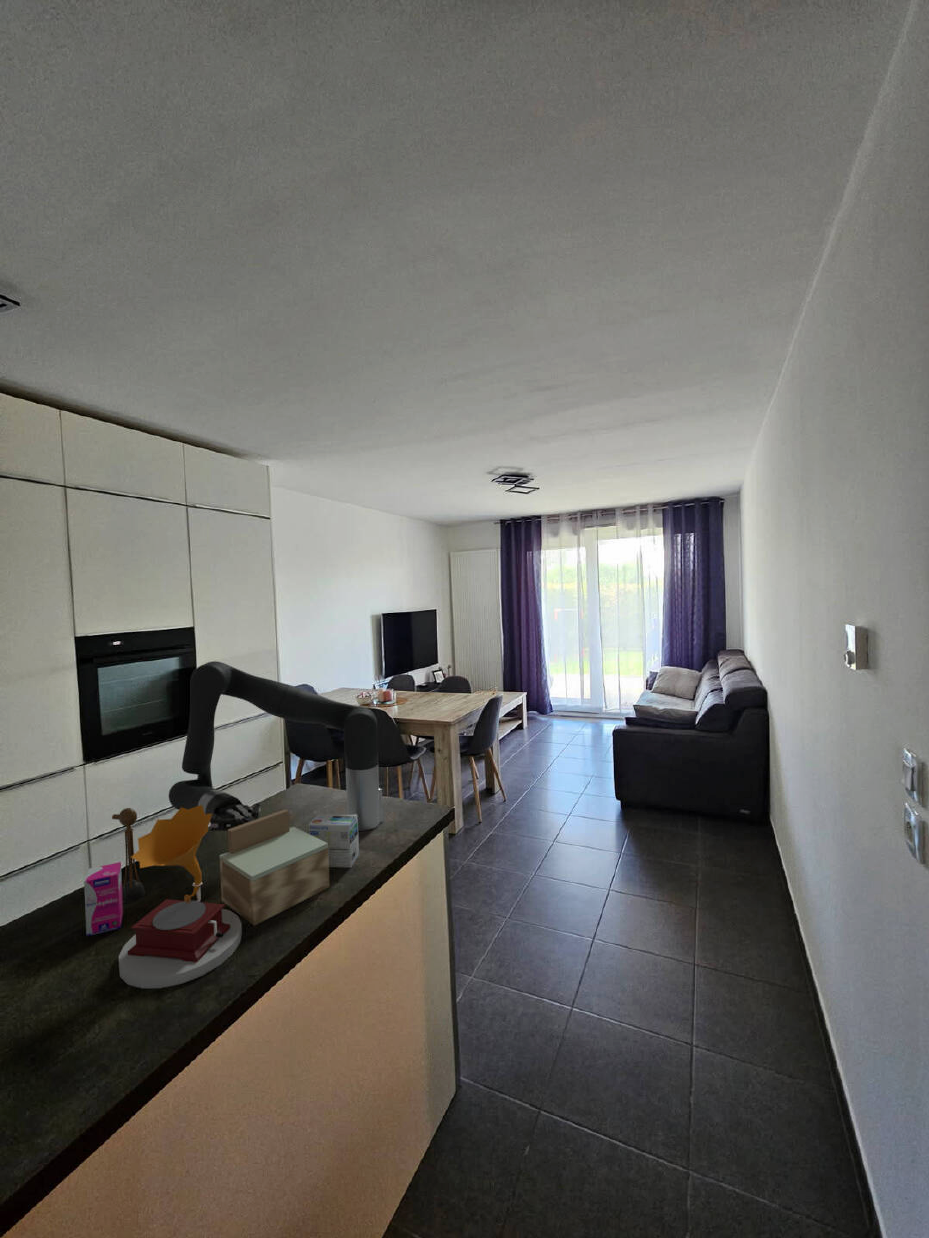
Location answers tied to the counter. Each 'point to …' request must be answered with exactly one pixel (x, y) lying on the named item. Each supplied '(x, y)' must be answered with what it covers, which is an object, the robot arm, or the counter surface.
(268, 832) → the sliding lid
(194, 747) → the robot arm
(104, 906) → the supplement box
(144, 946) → the gramophone
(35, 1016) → the counter surface
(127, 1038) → the counter surface
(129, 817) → the wooden tabletop sculpture
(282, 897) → the wooden box
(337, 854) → the light bulb box
